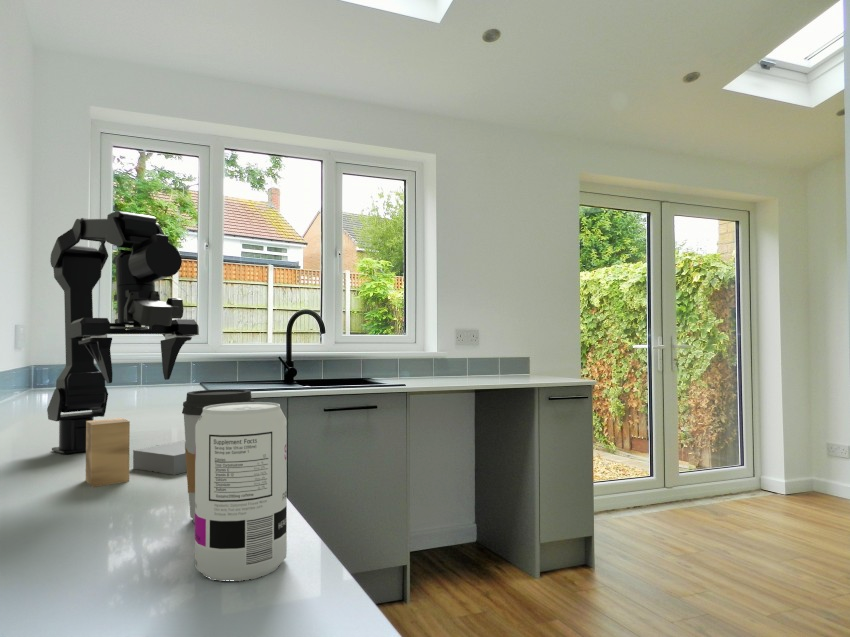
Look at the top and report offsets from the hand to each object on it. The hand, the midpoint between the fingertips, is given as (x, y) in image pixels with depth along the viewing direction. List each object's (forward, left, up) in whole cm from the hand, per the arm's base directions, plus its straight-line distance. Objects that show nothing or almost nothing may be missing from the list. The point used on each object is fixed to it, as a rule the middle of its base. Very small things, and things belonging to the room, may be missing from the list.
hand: (139, 381), depth 95 cm
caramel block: (+3, -6, -15) cm, 16 cm away
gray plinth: (+2, +6, -15) cm, 16 cm away
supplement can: (+48, -13, -15) cm, 52 cm away
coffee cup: (+33, -6, -15) cm, 37 cm away
